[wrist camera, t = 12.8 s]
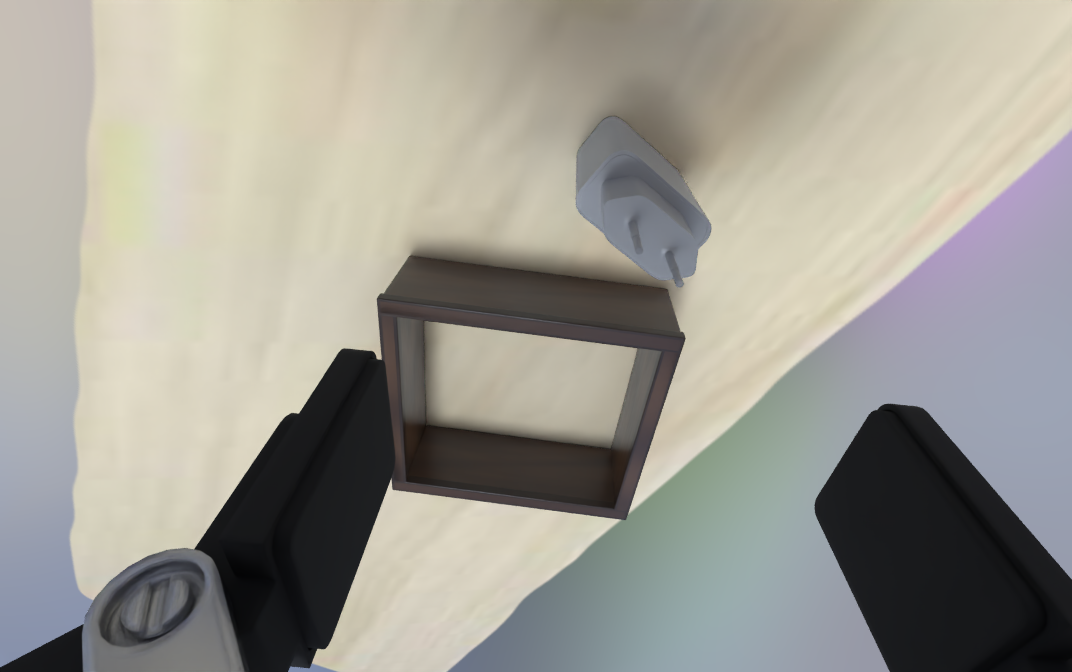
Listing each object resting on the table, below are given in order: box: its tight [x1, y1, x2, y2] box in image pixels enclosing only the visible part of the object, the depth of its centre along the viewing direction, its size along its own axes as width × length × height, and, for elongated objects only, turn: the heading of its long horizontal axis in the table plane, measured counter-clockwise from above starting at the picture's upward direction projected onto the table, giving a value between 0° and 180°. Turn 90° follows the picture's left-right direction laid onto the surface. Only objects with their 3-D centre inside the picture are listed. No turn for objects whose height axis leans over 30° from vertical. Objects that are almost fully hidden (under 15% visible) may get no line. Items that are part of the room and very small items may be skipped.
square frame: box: [377, 256, 685, 520], centre depth 32 cm, size 15×16×6 cm
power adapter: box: [576, 116, 711, 287], centre depth 21 cm, size 3×5×12 cm, turn 52°
